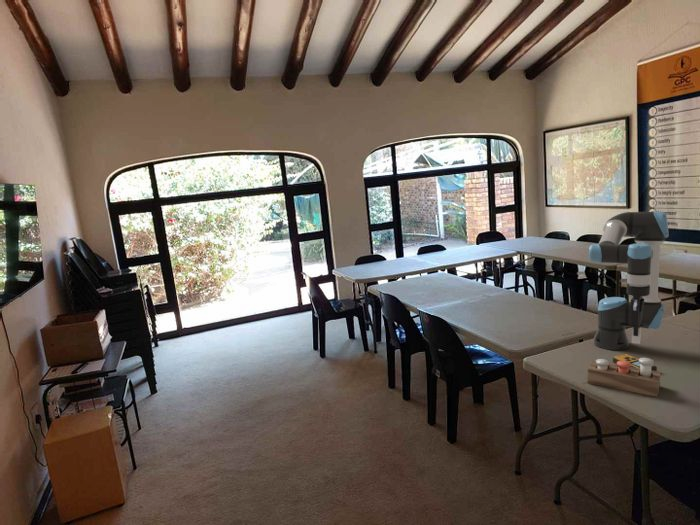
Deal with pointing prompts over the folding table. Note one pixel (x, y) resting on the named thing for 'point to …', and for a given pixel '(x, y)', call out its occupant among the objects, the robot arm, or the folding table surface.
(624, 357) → the electronic device
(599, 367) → the grey plug
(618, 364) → the red plug
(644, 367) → the grey plug
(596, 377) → the socket block
